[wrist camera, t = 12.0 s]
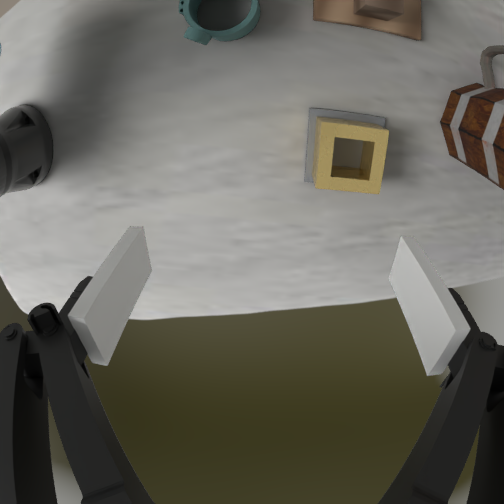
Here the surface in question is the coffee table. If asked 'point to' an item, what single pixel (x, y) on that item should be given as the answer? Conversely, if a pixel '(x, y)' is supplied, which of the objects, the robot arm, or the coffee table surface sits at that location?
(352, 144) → the felt mat
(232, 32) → the bracket
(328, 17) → the post stand
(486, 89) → the mug
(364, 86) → the coffee table surface
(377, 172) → the hollow wooden square frame
